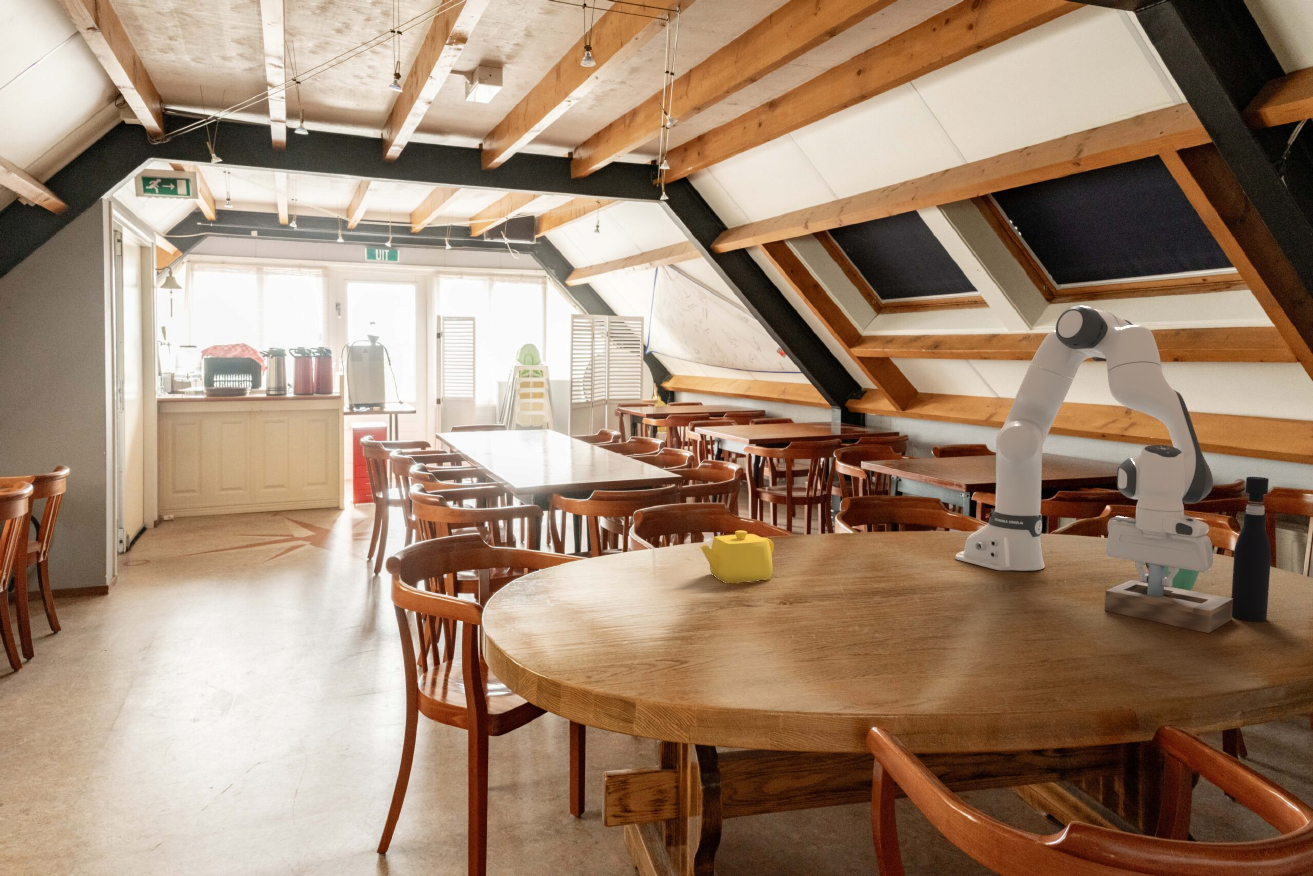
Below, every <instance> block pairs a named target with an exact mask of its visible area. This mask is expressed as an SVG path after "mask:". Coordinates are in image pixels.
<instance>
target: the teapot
mask: <svg viewBox="0 0 1313 876" xmlns="http://www.w3.org/2000/svg"><path fill="white" fill-rule="evenodd" d="M712 540H713V541H712V544H711V547H709V545H708V544H703V545H701V546H699V547H700V550H701V552H702V553H703V554H704V557H705V558H706V560H707V561H708V564H709V570H710V574H711V573H712V574H713V575H715V576H716V577H717V578H719V579H720V580H722V581H724V582H726V583H736V584H738V583H737V582H747V581H757V580H764V579H770V578H772V576H773V568H774V567H773V552H774V549H775V544H774V542H773V541H772V540H771V539H769V538H767V537H761V536H759V535H757V534H754V533H748V531H746V530H736V531H734V534H726V535H716V536H713V539H712ZM717 578H716V579H717ZM720 580H719V581H720ZM770 580H771V579H770ZM722 581H721V582H722ZM724 582H723V583H724ZM726 583H725V584H726Z"/></svg>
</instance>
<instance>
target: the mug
mask: <svg viewBox="0 0 1313 876" xmlns="http://www.w3.org/2000/svg"><path fill="white" fill-rule="evenodd" d="M1144 566H1146V568H1147V571H1149V563H1145V565H1144ZM1170 573H1171V572H1169V571H1168V566H1165V574H1164V577H1168V576H1169V574H1170ZM1199 573H1200V572H1198V571H1192V570H1186V569H1180V568H1179V572H1178V573H1177V574H1176V575H1175V577H1174V578H1173V580H1172V586H1171V587H1173V588H1178V589H1184V590H1189V591H1193V588H1194V585H1195V583H1196V581H1197V579H1198V576H1199Z"/></svg>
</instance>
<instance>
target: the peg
mask: <svg viewBox="0 0 1313 876" xmlns="http://www.w3.org/2000/svg"><path fill="white" fill-rule="evenodd" d="M1147 571H1148V572H1147V574H1148V592H1147V595H1151V596H1156V597H1162V596H1163V594H1164V586H1162V583H1163V582H1162V578H1164V574H1165V566H1162V565H1156V564H1150V563H1149V570H1147Z"/></svg>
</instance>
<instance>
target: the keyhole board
mask: <svg viewBox="0 0 1313 876" xmlns="http://www.w3.org/2000/svg"><path fill="white" fill-rule="evenodd" d="M1147 592H1148V583H1143V582H1140V580H1134V579H1131V580H1128V581H1126V582H1124V583H1123V582H1122V583H1120V584H1118V585H1116V586H1114V587H1111V588H1108V589H1106V590H1105V596H1104V611H1105V612H1110V613H1113V614H1118V615H1123V616H1124V615H1125V616H1128V617H1131V618H1132V617H1134V618H1136V619H1140V620H1141V619H1142V620H1147V621H1150V622H1156V623H1161V624H1165V625H1170V626H1174V627H1179V628H1183V629H1188V630H1192V631H1197V632H1203V633H1207V634H1210V633H1211V632H1213V631H1215V630H1216V629H1218V628H1220V627H1222V626H1223V625H1225V624H1226V623H1228V622H1230V621H1231V620H1232V619H1233V617H1232V608H1233V599H1232V598H1231V597H1226V596H1223V595H1216V594H1209V593H1204V592H1198V591H1195V590H1194V591H1193V590H1191V591H1189V590H1184V589H1178V588H1173V587H1165V586H1164V594H1163V596H1162V597H1156V596H1151V595H1147Z"/></svg>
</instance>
